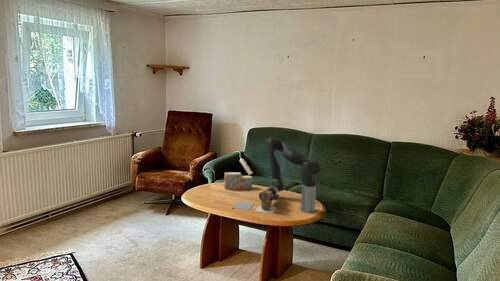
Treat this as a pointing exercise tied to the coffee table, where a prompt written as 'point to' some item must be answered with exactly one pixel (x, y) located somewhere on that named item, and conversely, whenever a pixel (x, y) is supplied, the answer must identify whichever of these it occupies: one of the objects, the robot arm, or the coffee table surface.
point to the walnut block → (266, 200)
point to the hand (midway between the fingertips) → (265, 199)
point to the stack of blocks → (237, 181)
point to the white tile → (266, 209)
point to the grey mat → (242, 206)
